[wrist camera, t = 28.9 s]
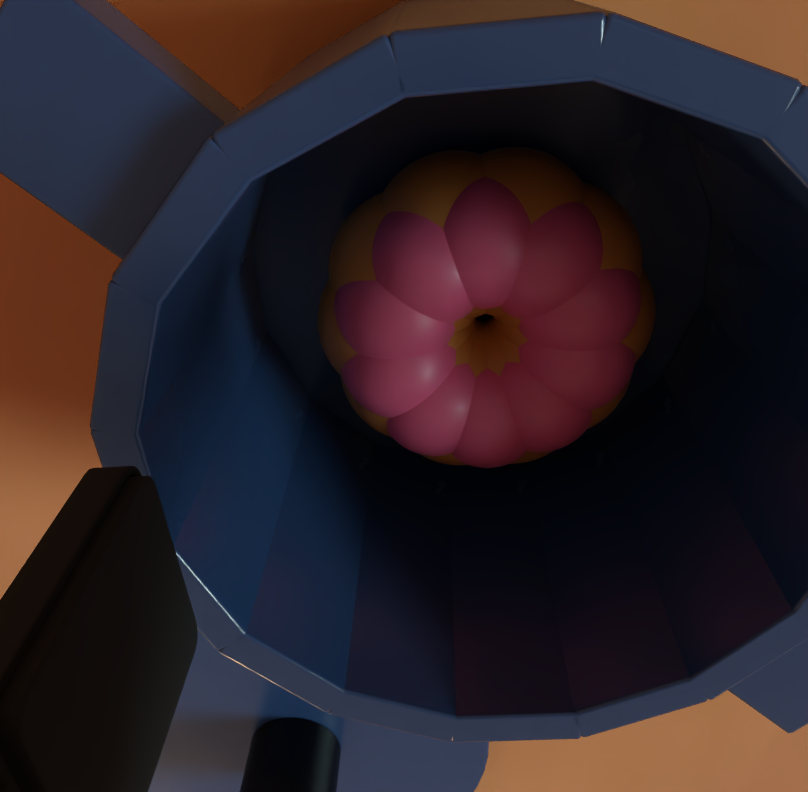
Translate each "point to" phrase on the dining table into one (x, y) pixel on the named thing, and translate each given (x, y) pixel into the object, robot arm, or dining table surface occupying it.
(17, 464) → the dining table surface
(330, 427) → the pot
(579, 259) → the donut
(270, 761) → the pot lid
